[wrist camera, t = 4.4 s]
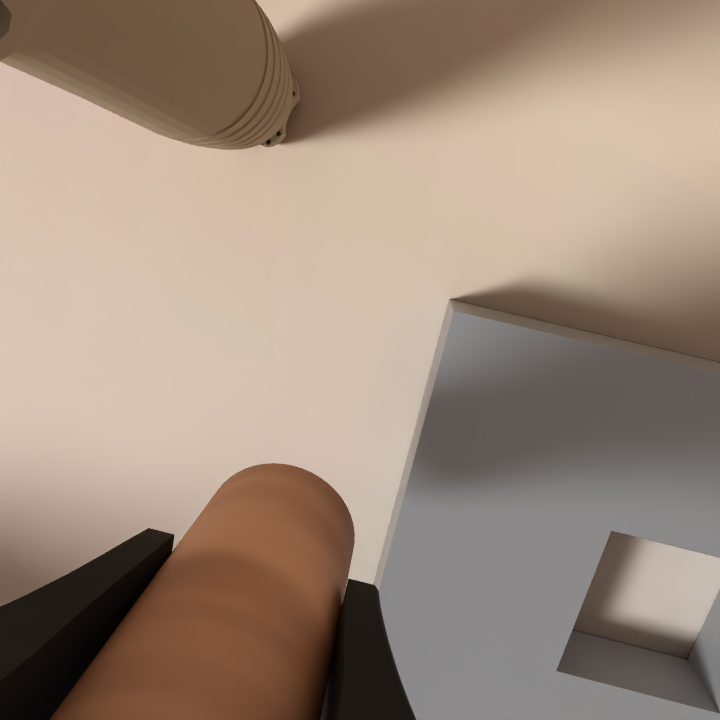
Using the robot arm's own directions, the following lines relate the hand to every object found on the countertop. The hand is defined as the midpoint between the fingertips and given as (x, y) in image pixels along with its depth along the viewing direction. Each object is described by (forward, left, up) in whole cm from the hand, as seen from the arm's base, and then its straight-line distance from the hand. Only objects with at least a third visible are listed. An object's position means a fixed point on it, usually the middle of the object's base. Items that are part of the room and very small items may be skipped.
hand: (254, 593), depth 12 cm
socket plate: (-3, -13, -9) cm, 17 cm away
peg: (0, 0, -2) cm, 2 cm away
